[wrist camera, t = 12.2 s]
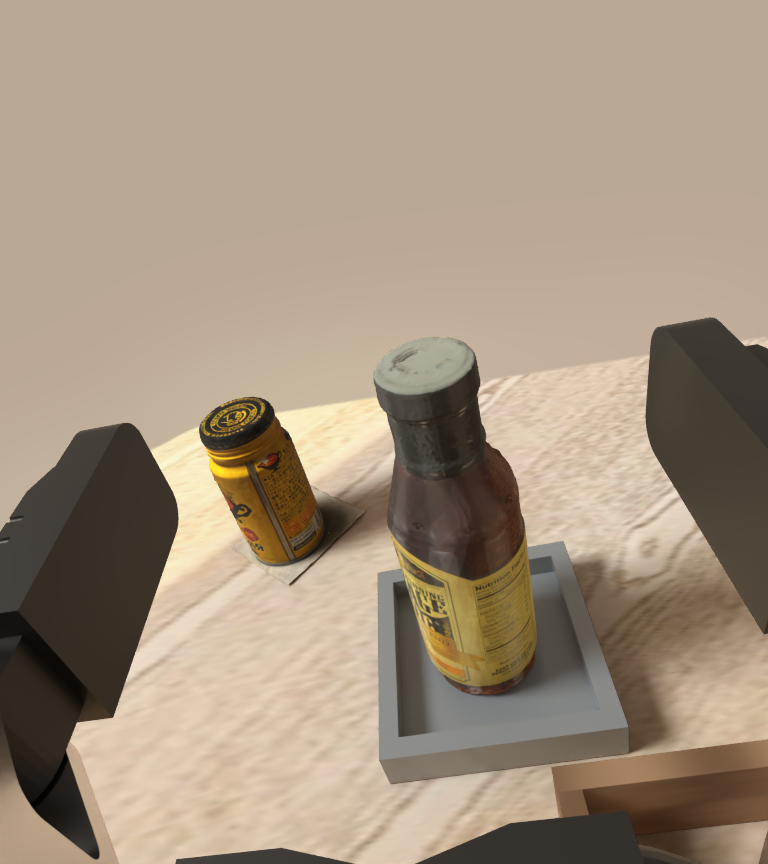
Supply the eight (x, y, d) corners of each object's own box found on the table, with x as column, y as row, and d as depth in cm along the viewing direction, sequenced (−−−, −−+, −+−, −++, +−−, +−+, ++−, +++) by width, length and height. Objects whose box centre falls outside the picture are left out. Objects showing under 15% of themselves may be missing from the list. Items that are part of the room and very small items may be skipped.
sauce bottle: (419, 626, 38) (329, 344, 26) (515, 595, 38) (467, 301, 27) (450, 725, 32) (354, 423, 21) (562, 687, 32) (526, 369, 21)
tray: (390, 783, 31) (379, 760, 30) (386, 597, 41) (377, 572, 40) (628, 753, 30) (628, 726, 29) (565, 567, 40) (563, 541, 38)
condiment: (231, 549, 49) (167, 430, 42) (307, 485, 53) (260, 368, 46) (288, 587, 44) (226, 460, 37) (366, 514, 49) (324, 388, 42)
